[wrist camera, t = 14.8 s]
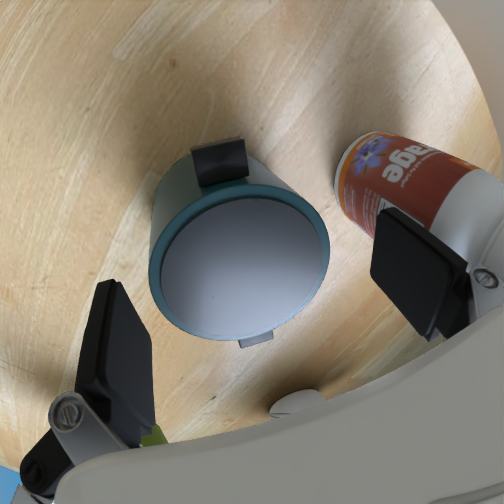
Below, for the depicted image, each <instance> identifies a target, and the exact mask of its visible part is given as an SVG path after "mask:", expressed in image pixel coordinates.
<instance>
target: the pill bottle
mask: <svg viewBox="0 0 504 504" xmlns="http://www.w3.org/2000/svg"><path fill="white" fill-rule="evenodd" d="M335 195H336V200H337V203H338V205H339V207H340V209H341V211H342V212H343V214H344V215H345V216H346V217H347V218H348V219H349V220H351V221H352V222H353V223H354V224H355V225H357V226H358V227H359V228H361V229H362V230H363V231H364V232H365V233H367V234H368V235H369V236H370V237H371V238H373V239H374V235H375V226H376V217H377V215H378V214H379V212H380V210H382V209H386V208H390V207H396V208H397V209H399V210H400V211H402V212H403V213H405V214H406V215H407V216H409V217H410V218H412V219H413V220H414V221H416V222H417V223H419V224H420V225H421V226H423V227H424V228H425V229H427V230H428V231H429V232H431V233H432V234H433V235H435V236H436V237H437V238H438V239H440V240H441V241H442V242H444V243H445V244H446V245H447V246H449V247H450V248H451V249H452V250H454V251H455V252H456V253H457V254H458V255H460V256H461V257H462V258H463V259H464V260H466V261H467V262H468V266H467V269H466V272H468V273H469V271H470V269H471V268H472V267H473V266H475V265H484V266H488V267H490V268H492V269H493V270H494V271H496V272H497V273H498V275H499V276H500V278H501V280H502V282H503V285H504V187H503V185H502V183H501V182H500V181H499V180H498V179H497V178H496V177H495V176H493V175H492V174H490V173H488V172H486V171H485V170H483V169H481V168H479V167H477V166H474V165H472V164H470V163H468V162H466V161H463V160H461V159H459V158H457V157H454V156H452V155H449V154H447V153H445V152H442V151H440V150H437V149H435V148H432V147H429V146H427V145H424V144H421V143H419V142H416V141H413V140H410V139H407V138H404V137H401V136H399V135H396V134H392V133H388V132H383V131H375V132H370V133H367V134H365V135H363V136H361V137H359V138H358V139H357V140H355V141H354V142H353V143H352V144H351V145H350V146H349V147H348V148H347V150H346V151H345V153H344V154H343V156H342V158H341V160H340V162H339V165H338V167H337V171H336V175H335Z"/></svg>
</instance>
